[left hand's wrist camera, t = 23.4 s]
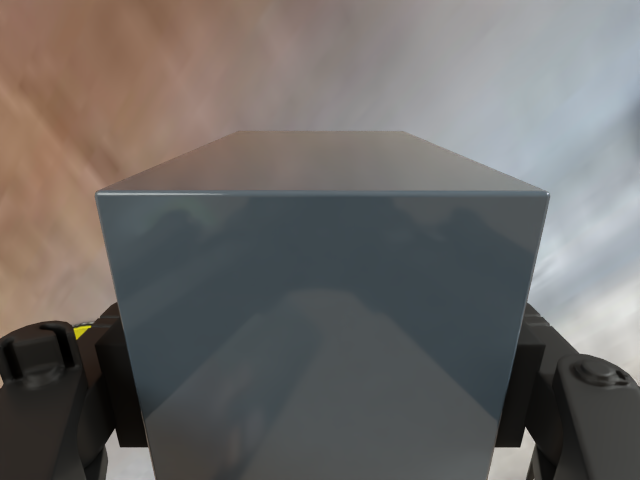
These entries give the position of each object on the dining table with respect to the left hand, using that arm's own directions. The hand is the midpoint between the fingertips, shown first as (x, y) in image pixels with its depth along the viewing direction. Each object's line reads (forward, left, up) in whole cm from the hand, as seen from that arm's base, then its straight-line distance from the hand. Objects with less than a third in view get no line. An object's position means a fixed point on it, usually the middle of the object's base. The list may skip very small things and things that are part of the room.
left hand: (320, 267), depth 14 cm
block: (0, 0, -4) cm, 4 cm away
